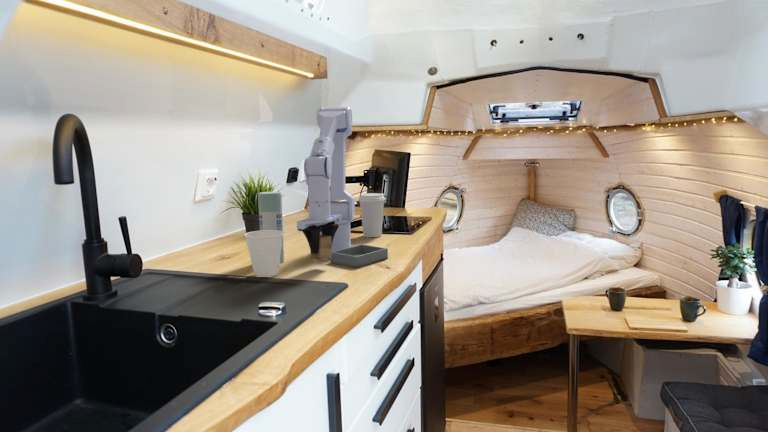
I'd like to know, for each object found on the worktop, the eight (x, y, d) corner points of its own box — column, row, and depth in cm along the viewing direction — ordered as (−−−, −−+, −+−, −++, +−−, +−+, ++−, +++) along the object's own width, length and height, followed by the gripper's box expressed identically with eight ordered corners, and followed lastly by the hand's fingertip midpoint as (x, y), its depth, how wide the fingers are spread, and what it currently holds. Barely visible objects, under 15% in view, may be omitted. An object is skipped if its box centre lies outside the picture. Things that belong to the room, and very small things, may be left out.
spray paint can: (282, 264, 143) (279, 193, 140) (259, 265, 143) (255, 194, 140) (285, 259, 150) (282, 191, 147) (263, 259, 150) (260, 191, 146)
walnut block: (310, 258, 137) (310, 236, 136) (321, 255, 140) (321, 234, 139) (321, 260, 135) (320, 238, 134) (331, 257, 138) (331, 236, 137)
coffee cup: (356, 238, 179) (355, 195, 177) (362, 233, 188) (361, 192, 186) (383, 238, 178) (382, 195, 175) (387, 233, 187) (387, 192, 185)
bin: (330, 262, 145) (330, 252, 144) (361, 253, 155) (361, 244, 154) (357, 267, 138) (356, 257, 138) (387, 258, 148) (387, 248, 148)
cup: (292, 271, 136) (290, 230, 134) (273, 281, 126) (270, 238, 125) (260, 269, 139) (258, 229, 137) (238, 278, 130) (236, 236, 128)
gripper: (308, 206, 127) (311, 259, 129) (349, 199, 138) (350, 248, 140) (290, 203, 132) (292, 255, 134) (330, 197, 143) (332, 245, 145)
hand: (321, 251), depth 137 cm, fingers closed on walnut block, 4 cm apart
